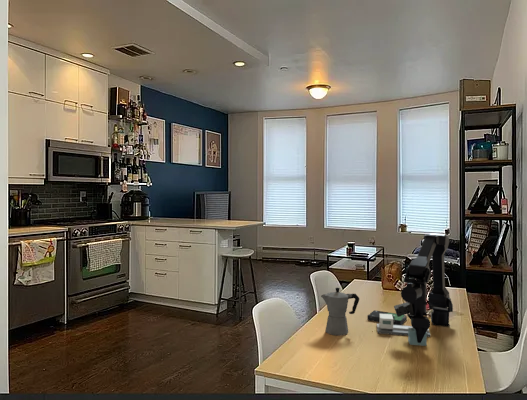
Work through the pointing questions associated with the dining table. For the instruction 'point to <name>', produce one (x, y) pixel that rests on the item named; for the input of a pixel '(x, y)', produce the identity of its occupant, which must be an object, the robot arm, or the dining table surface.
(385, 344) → the dining table surface
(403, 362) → the dining table surface
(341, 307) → the coffeepot
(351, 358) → the dining table surface
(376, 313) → the disk drive
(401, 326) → the din board
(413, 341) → the block
